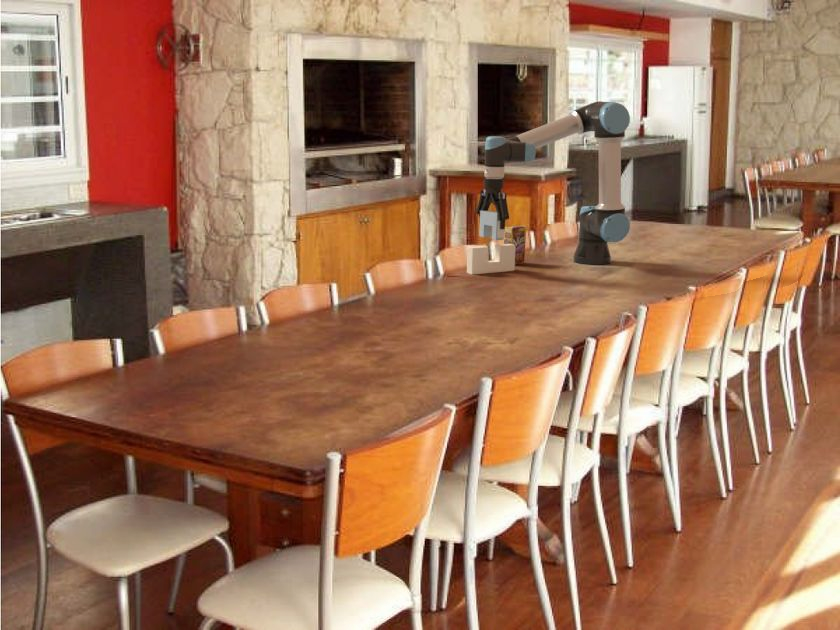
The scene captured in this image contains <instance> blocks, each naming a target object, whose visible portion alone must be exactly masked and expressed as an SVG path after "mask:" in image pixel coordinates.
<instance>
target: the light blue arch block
mask: <svg viewBox="0 0 840 630" xmlns="http://www.w3.org/2000/svg"><path fill="white" fill-rule="evenodd" d="M479 211H480V210H479ZM498 219H499V217H498V214H497V211H493V210H489V209H488V211H480V216H479V221H480V224H479V229H480V233H478V235H479V237H480V238H491V240H492V241H504V238H497V227H498Z"/></svg>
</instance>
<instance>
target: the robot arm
mask: <svg viewBox="0 0 840 630" xmlns="http://www.w3.org/2000/svg"><path fill="white" fill-rule="evenodd" d="M630 120H631V116H630V112H629V110H628V109H627V108H626V106H624V105H623V104H621V103H619V102H615V101H595V102H591V103H589V104H587V105H585V106H582V107H579V108H578V109H575V110H573V111H571V112H570V114H569V115H566V116H564V117H561V118H559V119H557V120H554V121H551V122H548V123H545V124H544V125H540V126H538V127H536V128H533V129H530V130H527V131H525V132H523V133H520V134H517V135H515V136H512V137H509V138H507V139H506V137H504V136H497V135H496V136H493V135H491V136H487V137H486V138H485V142H484V143H485V145H484V146H485V147H484V175H483V176H484V179H483V188H484V189H481V190H480V194H479V199H478V204H477V208H476V210H475V211H476V212H475V214H476V215H478V216H479V217H480V211H488V210H489V209H490V206H491V204H493V206H494V207H495V210H496V211H495V212H497V214H498V217H499V219H498V227H497V238H504V236H505V227H506V221H507V220H509V219H510V214H509V208H508V203H507V202H508V201H507V193H506V192H502V190H503V188H504V185H505V181H504V180H505V179H504V177H505V167H506V166H505V164H506V163H532V162H534V160H535V158H536V154H537V153H536V151H537V150H536V149H539V148H541V147H545V146H547V145H550V144H551V143H555V142H557V141H559V140H561V139H562V140H563V139H565V138H567V137H569V136H570V137H571V136H572V135H574V134H578V135H582V134H585V133H589V132H593V133H594V134H593V135H594V139H595V140H596V141H597V142H598V203H597V205H587V206H585V205H583V206H582V207H581V208H580V211H579V212H580V213H579V226H578V227H579V228H578V229H579V230H578V242H577V246H576V249H575V250H574V251H575V252H574V254H573V259H572V260H573V262H575V263H578V264H583V265H608V264H610V263H611V262H612V261H611V259H612V257H611V252H610V249H609V245H608V243H619V242H621V241H622V240H624V239H625V238H626V237H627V236H628V234H629V232H630V229H631V222H630V219H629V218H628V216H627V215H626V207H625V205H624V204H623V203H622V160H621V159H622V155H621V154H622V151H621V150H622V147H621V145H622V144H621V143H622V141H623V139H624V138H625V137H626V130H627V128H628V127H629V125H630V122H631V121H630ZM478 223H479V225H480V220H479V222H478ZM478 232H479V233H480V228H479V230H478ZM479 233H478V234H479Z"/></svg>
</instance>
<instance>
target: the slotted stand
mask: <svg viewBox="0 0 840 630" xmlns="http://www.w3.org/2000/svg"><path fill="white" fill-rule="evenodd" d="M466 249H467V250H466V253H467V254H466V258H467V259H466V274H469V275H479V274H480V275H481V274H489V273H491V274H493V273H501V272H502V273H504V272H513V271H515V266H516V264H515V245H513V244H504V243H503V244H495V245H494V260H493V259H492V260H489V246H486V245H477V246H467V248H466ZM515 272H516V271H515Z"/></svg>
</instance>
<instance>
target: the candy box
mask: <svg viewBox="0 0 840 630" xmlns="http://www.w3.org/2000/svg"><path fill="white" fill-rule="evenodd" d="M526 235H527V226H526V225H522V224H521V225H511V226H505V229H504V239H503V244H513V245H515V265H520V264H525V255H526V253H525V252H526V240H527V239H526V237H527V236H526Z"/></svg>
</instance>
